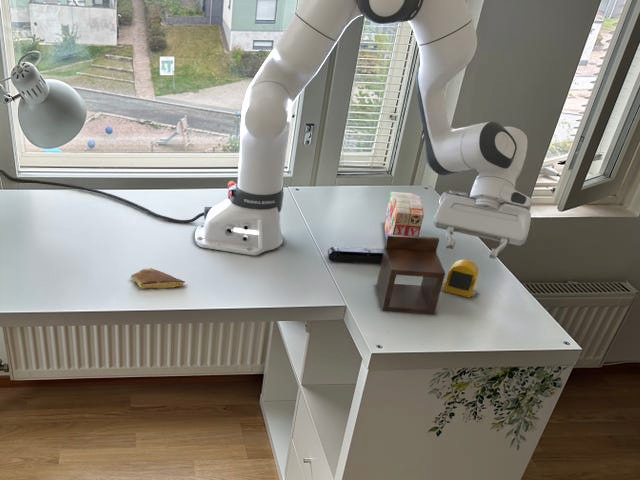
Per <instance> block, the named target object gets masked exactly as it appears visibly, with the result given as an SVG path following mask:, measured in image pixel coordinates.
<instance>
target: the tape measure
mask: <svg viewBox="0 0 640 480" xmlns="http://www.w3.org/2000/svg"><path fill="white" fill-rule="evenodd" d="M478 277H479V267H478V266H477V264H476V263H475V262H473V261H472V260H469V259H459V260H456V261H455V262H454V263H453V264H452V265H451V266H450V268H449V271H448V273H447V275H446V279H445V283H444V286H443V290H442V291H443V292H446V293H450V294H454V295H457V296H461V297H466V298H469V299H471V298H474V297H475V295H476V293H477V290H475V287H476V284H477V280H478Z"/></svg>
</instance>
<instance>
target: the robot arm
mask: <svg viewBox="0 0 640 480" xmlns="http://www.w3.org/2000/svg"><path fill="white" fill-rule="evenodd" d="M358 17H364V18H365V19H366V20H367V21H368V22H370V23H372V24H374V25H379V26H389V25H390V26H391V25H394V24H399V23H400V24H401V23H405V22H408V24H409V25H410V27H411V29H412V31H413V34H414V37H415V40H416V43H417V46H418V50H419V57H420V61H419V62H420V63H419V67H418V68H417V70H416V73H415V91H416V97H417V103H418V109H419V113H420V119H421V124H422V129H423V130H422V131H423V135H424V153H425V161H426V163H427V165H428V167H429V168H430V169H431V170H432V171H433V172H434V173H436V174H437V175H440V176H448V175H452V174H455V173H458V172H464V171H471V170H473V171H474V170H475V171H477V172H478V175H477V176H476V177H475V179H474V181H473V184H472V188H471V190H470V192H466V191H465V192H464V191H457V190H454V189H450V190H448V191H444V192H443V193H442V194H441V195H440V197H439V201H438V204H439V206H438V208H437V209H436V210H437V211H436V212H435V215H434V217H433V225H434V227H435V228H437V229H441V230H445V231H446V232H445V235H446V238H447V243H446V246H445V248H446V249H448V250H454V247H455V245H456V239H453V238H452V236H453V235H454V233H458V234H459V233H460V234H463V235H469V236H473V237H477V238H483V239H486V240H492V241H496V242H499V246H497V247H496V248H493V247H492V248H491V250H490V253H489V256H488V257H489V259H492V260H497V258H498V255H499V254H500V253H501V252H502V251H503V250H504V249H505V248H506V247H507V245H508V244H510V245H515V246H519V247H520V246H523V245H524V244H526V243H527V239H528V236H529V232H530V227H531V220H532V214H531V208H532V203H533V202H532V201H533V200H532V198H531V197H530V196H528V195H526V194H524V193H522V192H520V191H518V190H516V183H517V179H518V178H519V176H520V175H521V173H522V169H523V167H524V164H525V160H526V157H527V152H528V136H527V135H526V133H525V132H524V131H522V130H521V129H520V128H517V127H514V126H503V125H502V124H500V123H499V122H496V121H485V122H481V123H477V124H476V123H475V124H471V125H468V126H462V127H457V128H453V127H452V126H451V125H450V124H449V118H448V112H447V106H446V100H445V88H446V86H447V84H448V83H449V82H450V81H451V80H452V79H454V77H456V76H457V75H458V74H459V73H460V72H462V71H463V70H464V69H465V68H466V67H468V65H469V64H470V63H471V61H472V60H473V58H474V56H475V54H476V51H477V47H478V37H477V36H478V35H477V31H476V28H475V24H474V20H473V18H472V15H471V11H470V9H469V6H468V3H467V1H466V0H301V2H300V4H299V6H298V7H297V8H296V10H295V12H294V14H293V15H292V17H291V19H290V21H289V22H288V24H287V25H286V27H285V29H284V30H283V32H282V34H281V35H280V37H279V39H278V40H277V41H276V44H275V45H274V46H273V48H272V50H271V51H270V52H269V54H268V56H267V57H266V59H265V60H264V62H263V64H262V65H261V66H260V68H259V69H258V71H257V73H256V74H255V76H254V77H253V79H252V81H251V82H250V83H249V84H248V87H247V89H246V91H245V95H244V99H243V104H242V108H241V116H240V117H241V119H240V134H239V135H240V137H239V140H240V141H239V157H238V169H237V183H236V182H235V180H230V181H228V183H227V189H228V193H227V198H226V199H224V200H223V201H221V202H219V203H218V204H216V205H215V206H204V209H203V211H204V212H203V211H202V212H200V213H199V214H196V216H194V217H193V218H190V219H176V218H173V217H169V216H166V215H163V214H159V213H156V212H155V211H152V210H150V209H148V208H146V207H145V206H142V205H140V204H138V203H135V202H133V201H131V200H128V199H126V198H123V197H120V196H118V195H115V194H112V193H109V192H105V191H102V190H98V189H95V188H90V187H85V186H81V185H76V184H75V185H74V184H68V183H61V182H54V181H43V180H37V179H28V178H19V177H18V178H17V177H13V176H10V175H9V174H8V173H7V172H6V171H4V170H3V169H0V173H1V174H2V175H3V176H4V177H6V179H8V180H10V181H14V182H21V183H29V184H30V183H31V184H40V185H49V186H56V187H63V188H70V189H76V190H82V191H86V192H92V193H95V194H99V195H103V196H105V197H109V198H112V199H115V200H117V201H120V202H123V203H126V204H128V205H131V206H132V207H135V208H137V209H139V210H141V211H143V212H146V213H147V214H149V215H151V216H154V217H156V218H158V219H161V220H164V221H168V222H172V223H176V224H177V223H178V224H189V223H190V224H191V223H194V222H195V221H198V219H200V218H202V217H203V219H204V222H203V223H201V224H199V225H198V227H197V228H196V230H195V234H194V241H195V243H196V245H198V247H200V248H204V249H211V250H217V251H223V252H229V253H236V254H240V255H241V254H242V255H249V256H258V255H261V254H262V253H265V252H268V251H272V250H275V249H277V248H279V247H280V246H281V245H282V244H283V241H284V240H283V235H282V230H281V229H282V227H281V211H282V208H283V203H284V195H285V194H284V193H285V192H284V187H283V183H284V174H285V166H286V157H287V149H288V143H289V134H290V128H291V127H290V126H291V119H292V108H293V106H294V104H295V102H296V100H297V99H298V98H299V96H300V95H301V93H302V92H303V91H304V89H306V87H307V86H308V84H309V83H310V82H311V81H312V80H313V79H314V78H315V76H317V74H318V73H319V71H320V69H321V68H322V66H323V65H324V64H325V62H326V61H327V58H328V57H329V55H331V52H332V51H333V49H334V48H335V46H336V45H337V43H338V41H339V40H340V39H341V37H342V35H343V34H344V32H345V30H346V29H347V28H348V26H349V25H350V24H351V23H352V22H353V21H354V20H356V19H357V18H358Z"/></svg>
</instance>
